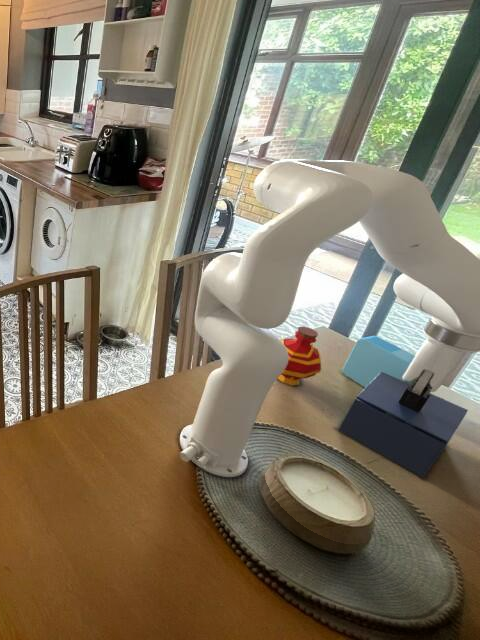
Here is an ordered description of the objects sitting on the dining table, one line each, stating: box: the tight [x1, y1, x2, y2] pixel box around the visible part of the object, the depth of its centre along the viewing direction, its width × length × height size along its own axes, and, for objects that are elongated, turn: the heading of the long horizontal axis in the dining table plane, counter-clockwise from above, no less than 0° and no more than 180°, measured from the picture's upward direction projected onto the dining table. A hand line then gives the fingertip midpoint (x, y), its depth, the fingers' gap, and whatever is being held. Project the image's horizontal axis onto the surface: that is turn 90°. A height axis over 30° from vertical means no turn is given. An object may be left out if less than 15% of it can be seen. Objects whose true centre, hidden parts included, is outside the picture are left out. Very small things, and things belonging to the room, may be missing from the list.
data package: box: [342, 335, 416, 389], centre depth 102 cm, size 12×4×12 cm, turn 16°
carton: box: [338, 372, 469, 479], centre depth 88 cm, size 15×14×10 cm
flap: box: [356, 383, 460, 443], centre depth 84 cm, size 7×14×1 cm, turn 32°
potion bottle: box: [277, 326, 322, 386], centre depth 104 cm, size 10×10×15 cm
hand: (409, 406), depth 85 cm, fingers closed
